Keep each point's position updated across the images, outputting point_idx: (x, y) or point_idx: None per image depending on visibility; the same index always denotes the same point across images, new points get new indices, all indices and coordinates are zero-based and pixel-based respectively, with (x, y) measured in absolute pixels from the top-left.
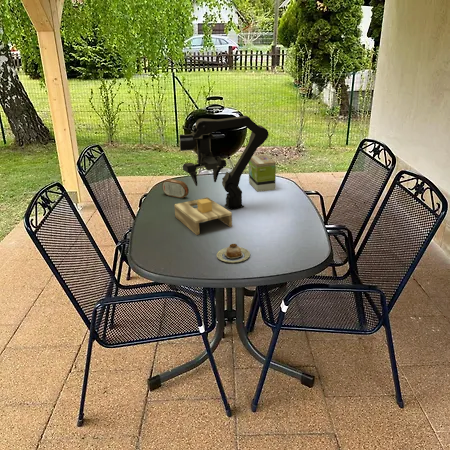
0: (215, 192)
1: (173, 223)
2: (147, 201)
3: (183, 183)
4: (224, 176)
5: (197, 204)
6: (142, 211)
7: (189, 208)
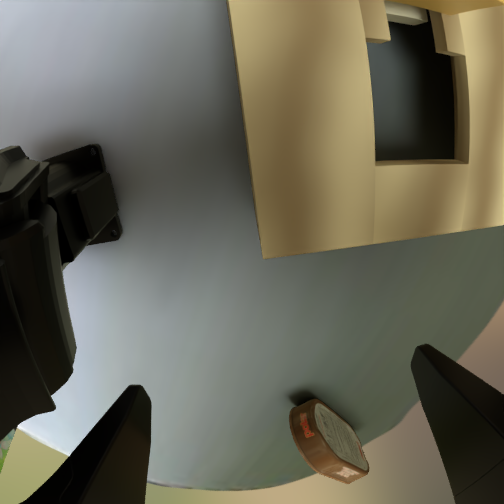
0: None
1: None
2: None
3: (316, 460)
4: (20, 416)
5: (480, 8)
6: (495, 313)
7: (489, 82)
